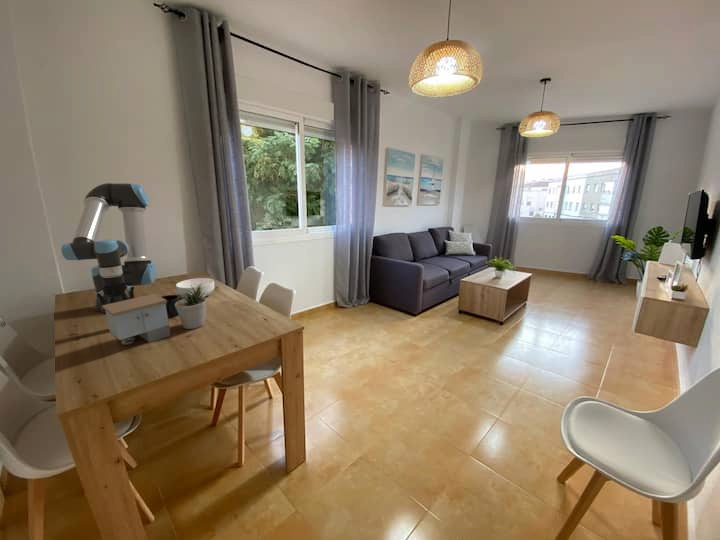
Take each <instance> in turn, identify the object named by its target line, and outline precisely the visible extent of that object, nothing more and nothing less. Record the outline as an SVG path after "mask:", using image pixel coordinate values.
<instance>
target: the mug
mask: <svg viewBox="0 0 720 540" xmlns="http://www.w3.org/2000/svg"><path fill="white" fill-rule="evenodd" d="M179 296H180V295H178V294H168V295H167V294H166V295H163V296H161V297H162V298H164V299H166V300H167V303H165V304H166V310H167V316H168V319H173V318H176V317H179V314H178V312H177V309H176V307H175V303H176V302H178V301H180V297H179Z"/></svg>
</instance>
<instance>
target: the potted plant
mask: <svg viewBox="0 0 720 540" xmlns="http://www.w3.org/2000/svg"><path fill="white" fill-rule="evenodd" d="M190 286H191V285H190ZM191 287H192V286H191ZM202 288H203V287H202ZM192 289H193V290H194V288H193V287H192ZM200 289H201V285H200V284H199V285H198V286H197V291H196V292H195V290H194V294H193V293H192V292H190V291H189V292H190V293H191V294H192V295H190V294H189V293H187V292H186V291H188V290H186V291H185V289H184V291H185V292H186V293H184V294H178V293H177V296H179V298H181V300H180V299H179V301H178V302H176V303H175V307H176V309H177V312H178V314H179V315H178V317H179V320H180V323H181V325H182V327H183V328H184V329H187V330H194V329H198V328H201V327H202V326H204V325H205V322H206V308H207V306H206V305H207V299H206V297H207V296H208V295H206V296H205V297H202V296H203V294H204V293H205V292H204V293H202V295H201V291H202V289H201V291H200ZM181 293H182V292H181ZM183 295H185V296H183ZM200 295H201V296H200ZM182 296H183V297H182ZM186 296H187V297H186ZM184 297H185V298H184Z"/></svg>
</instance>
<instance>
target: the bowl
mask: <svg viewBox="0 0 720 540" xmlns="http://www.w3.org/2000/svg"><path fill="white" fill-rule="evenodd" d="M199 284H200V285H201V289H202V291H201V289H200V291H201V295H202V293H204V292H205V293H204V294H203V296H202V298H204V297H205V296H206V295H207V296H209V295H210V294H211V293H213V290H214V289H215V281H214V279H212V278H208V277H206V278H205V277H200V278H199V277H197V278H190V279H189V278H188V279H185V280H181V281H179V282H177V283H176V284H175V289H176V292H177V293H176V294H177V295H178V294H184V293H186V292H187V293H189V294H190V295H192V294H191V293H190V292H192V293H193V294H194V290H195V292H196V291H197V286H198V285H199ZM190 285H191V286H192V287H193V288H194V290H193V289H192V287H191V286H190ZM202 287H203V288H202ZM184 289H185V291H186V290H188V291H186V292H185V291H184ZM189 291H190V292H189ZM181 292H182V293H181ZM201 295H200V296H201ZM183 296H185V295H183ZM183 296H181V297H183ZM207 296H206V297H207ZM186 297H187V296H186ZM206 297H205V298H206ZM183 298H185V297H183ZM185 299H186V298H185Z"/></svg>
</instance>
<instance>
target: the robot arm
mask: <svg viewBox="0 0 720 540" xmlns="http://www.w3.org/2000/svg"><path fill="white" fill-rule="evenodd" d="M83 205H84V209H83V211H82V213H81V217H80V219H79V223H78V226H77V229H76V230H75V234H74V237H73V239H72V242H67V243H63V244H62V246H61V249H60V250H61V255H62V256H63V258H64V259H65V260H67V261H84V260H85V261H86V260H97V264H98V265H96V266H94V267H92V268H91V269H90V270H91V278H92V282H93V285H94V291H95V293H94V294H95V300H94V310H95V311H96V312H101V313H102V314H103V315H104V316H106V311H105V310H104V309H103V307H102V305H106V304H111V303H115V302H120V301H124V300H129V299H133V298H135V296H134V294H135V293H134V292H135V291H134V290H135V287H138V286H139V287H140V286H142V287H143V286H147V285H152V284H153V283H154V282H155V280H156V277H157V275H156V274H157V267H156V264H155V263H154V262H152V259H150V258H149V257H148V251H147V243H146V242H147V241H146V234H145V232H146V231H145V223H144V212H145V211H146V207H149V205H150V200H149V196H148V193H147V190H146V189H145V187H144V186H143V185H141V184H138V183H131V182H130V183H111V182H110V183H109V182H106V183H101V184H99V185H97V186H95V187H94V188H92V189H91V190H90V191H89V192H88V193H87V194H85V198H84V200H83ZM110 207H117V209H118V210H119V211H120V212H121V213H122V219H123V220H122V222H123V230H124V231H123V232H124V238H125V239H124V240H125V241H123V240H121V239H120V240H119V239H117V240H116V239H112V238H110V239H100V240H99V239H98V235H99V233H100V229H101V226H102V223H103V220H104V216H105V213H106V212H107V211H108V210H109V209H110ZM97 239H98V240H97ZM125 256H126V257H127V258H126V259H125V260H124V261H123V263H124V264H122V262H121V258H123V257H125ZM126 290H127V292H128V293H127V292H126Z"/></svg>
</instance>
